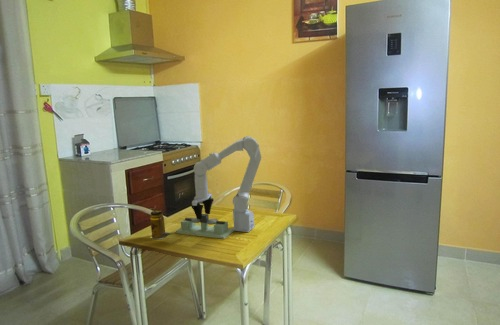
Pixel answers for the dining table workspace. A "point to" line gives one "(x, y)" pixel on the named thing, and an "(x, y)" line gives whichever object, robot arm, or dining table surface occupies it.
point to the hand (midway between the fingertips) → (203, 216)
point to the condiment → (158, 225)
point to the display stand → (205, 229)
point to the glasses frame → (205, 220)
